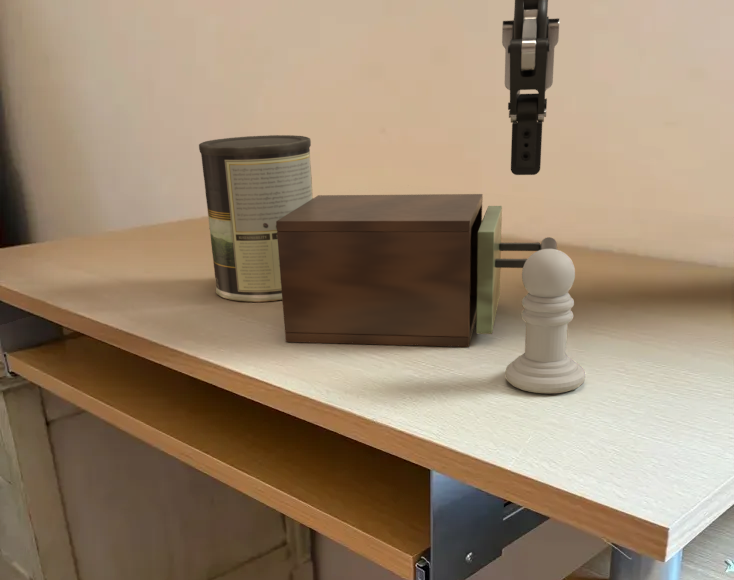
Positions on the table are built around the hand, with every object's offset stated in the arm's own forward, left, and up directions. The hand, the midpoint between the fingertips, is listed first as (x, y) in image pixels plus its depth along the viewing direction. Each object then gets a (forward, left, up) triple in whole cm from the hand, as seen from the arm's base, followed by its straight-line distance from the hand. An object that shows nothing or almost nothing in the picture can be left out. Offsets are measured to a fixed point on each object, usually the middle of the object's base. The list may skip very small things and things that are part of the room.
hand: (525, 173), depth 64 cm
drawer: (+6, 0, -11) cm, 13 cm away
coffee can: (+25, -10, -12) cm, 30 cm away
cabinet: (+11, 0, -12) cm, 16 cm away
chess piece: (-2, +13, -12) cm, 18 cm away
